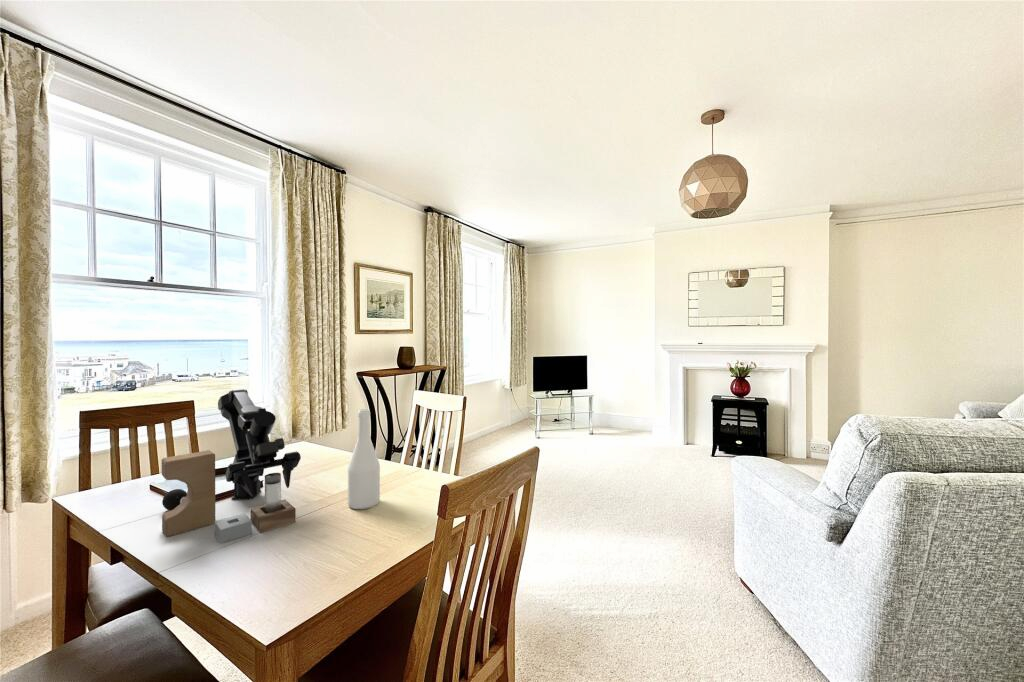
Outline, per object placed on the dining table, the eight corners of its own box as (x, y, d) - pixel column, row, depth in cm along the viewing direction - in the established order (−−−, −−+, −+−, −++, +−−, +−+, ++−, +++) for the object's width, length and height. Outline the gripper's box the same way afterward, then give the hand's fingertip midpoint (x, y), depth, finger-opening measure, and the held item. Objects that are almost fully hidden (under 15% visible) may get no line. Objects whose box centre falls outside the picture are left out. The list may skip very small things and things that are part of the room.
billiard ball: (173, 514, 123) (173, 494, 123) (157, 512, 125) (157, 492, 125) (193, 506, 129) (192, 487, 129) (177, 504, 131) (177, 485, 130)
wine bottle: (355, 497, 137) (355, 406, 136) (383, 498, 136) (384, 407, 136) (342, 510, 127) (342, 412, 127) (373, 510, 127) (373, 412, 126)
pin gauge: (262, 523, 117) (261, 477, 116) (268, 517, 121) (268, 472, 120) (277, 523, 117) (276, 477, 117) (283, 516, 121) (283, 472, 121)
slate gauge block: (214, 533, 112) (214, 521, 112) (244, 525, 117) (244, 513, 117) (220, 543, 107) (220, 529, 107) (251, 533, 112) (251, 520, 112)
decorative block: (165, 538, 109) (164, 462, 109) (161, 530, 113) (161, 457, 113) (216, 524, 117) (215, 453, 117) (211, 517, 121) (210, 449, 121)
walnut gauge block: (250, 522, 119) (250, 508, 119) (284, 512, 125) (284, 499, 125) (259, 532, 112) (259, 518, 112) (295, 522, 119) (295, 508, 119)
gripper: (228, 435, 116) (238, 485, 109) (298, 425, 130) (312, 469, 123) (221, 457, 122) (230, 506, 115) (289, 445, 136) (302, 488, 128)
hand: (271, 491), depth 120 cm, fingers open, 9 cm apart
